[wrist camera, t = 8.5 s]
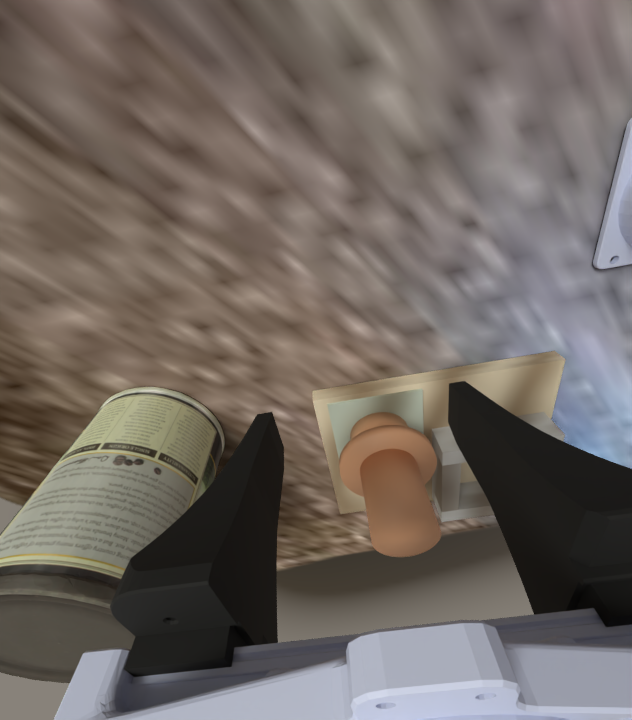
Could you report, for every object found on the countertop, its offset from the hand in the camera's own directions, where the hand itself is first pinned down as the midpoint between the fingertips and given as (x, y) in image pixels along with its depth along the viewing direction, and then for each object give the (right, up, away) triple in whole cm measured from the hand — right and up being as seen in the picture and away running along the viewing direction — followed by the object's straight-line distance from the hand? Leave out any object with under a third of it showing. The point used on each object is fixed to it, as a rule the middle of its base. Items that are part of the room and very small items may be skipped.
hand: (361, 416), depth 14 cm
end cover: (+3, -4, +13) cm, 14 cm away
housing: (+8, -4, +15) cm, 18 cm away
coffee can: (-15, -4, +14) cm, 21 cm away
